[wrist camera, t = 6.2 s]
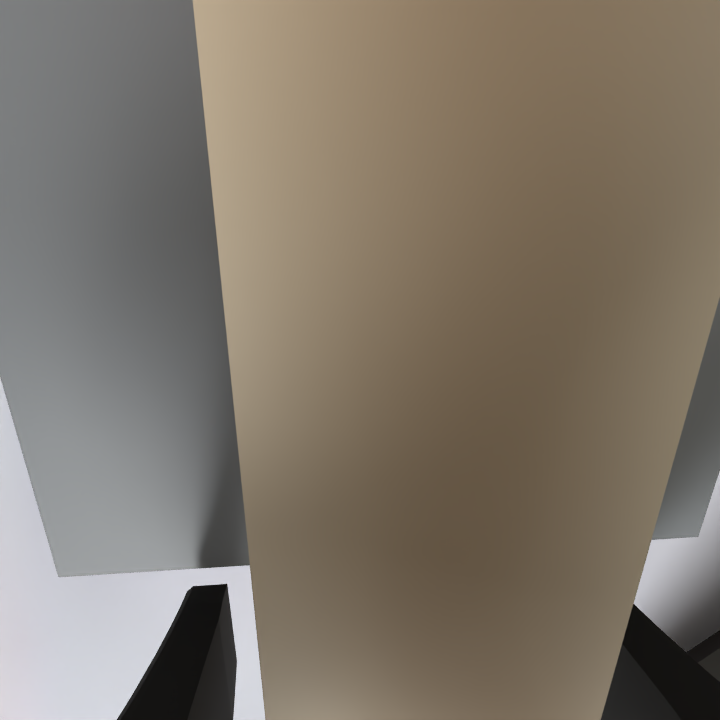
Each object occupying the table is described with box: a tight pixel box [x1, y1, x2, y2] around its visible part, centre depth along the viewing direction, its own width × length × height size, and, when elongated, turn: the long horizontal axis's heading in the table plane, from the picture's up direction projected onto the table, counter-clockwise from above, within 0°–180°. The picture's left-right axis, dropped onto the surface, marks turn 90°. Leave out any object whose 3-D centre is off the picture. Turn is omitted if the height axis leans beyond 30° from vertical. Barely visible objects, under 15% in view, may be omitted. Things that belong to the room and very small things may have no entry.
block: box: [193, 0, 720, 720], centre depth 8 cm, size 4×10×4 cm, turn 0°
